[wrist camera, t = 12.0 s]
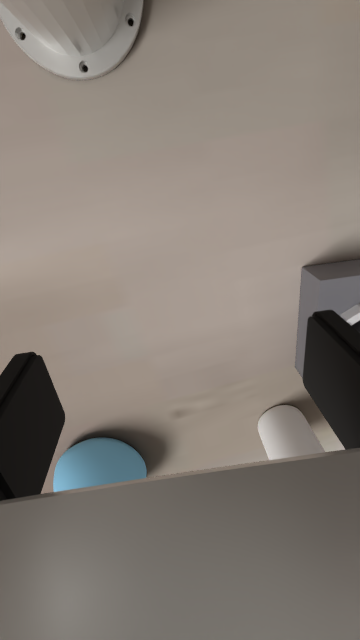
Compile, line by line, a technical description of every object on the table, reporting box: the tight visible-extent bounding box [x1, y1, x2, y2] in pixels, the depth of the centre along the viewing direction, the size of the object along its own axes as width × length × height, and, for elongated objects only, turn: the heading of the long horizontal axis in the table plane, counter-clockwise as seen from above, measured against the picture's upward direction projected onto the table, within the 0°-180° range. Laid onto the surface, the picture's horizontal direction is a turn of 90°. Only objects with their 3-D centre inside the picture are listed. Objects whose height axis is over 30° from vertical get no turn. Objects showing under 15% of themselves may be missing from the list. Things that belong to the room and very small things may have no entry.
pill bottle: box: [258, 405, 325, 460], centre depth 46 cm, size 8×8×15 cm
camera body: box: [295, 259, 360, 378], centre depth 41 cm, size 16×12×7 cm
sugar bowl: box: [53, 437, 147, 492], centre depth 49 cm, size 15×15×12 cm
